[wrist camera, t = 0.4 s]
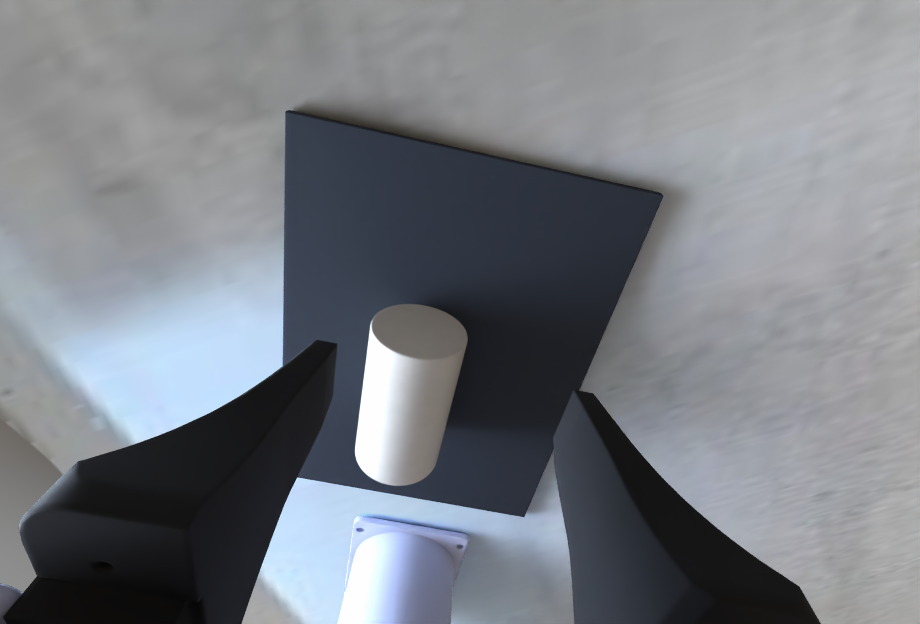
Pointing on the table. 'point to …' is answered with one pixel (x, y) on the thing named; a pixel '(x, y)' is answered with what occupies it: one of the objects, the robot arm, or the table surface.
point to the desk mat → (453, 291)
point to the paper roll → (407, 391)
